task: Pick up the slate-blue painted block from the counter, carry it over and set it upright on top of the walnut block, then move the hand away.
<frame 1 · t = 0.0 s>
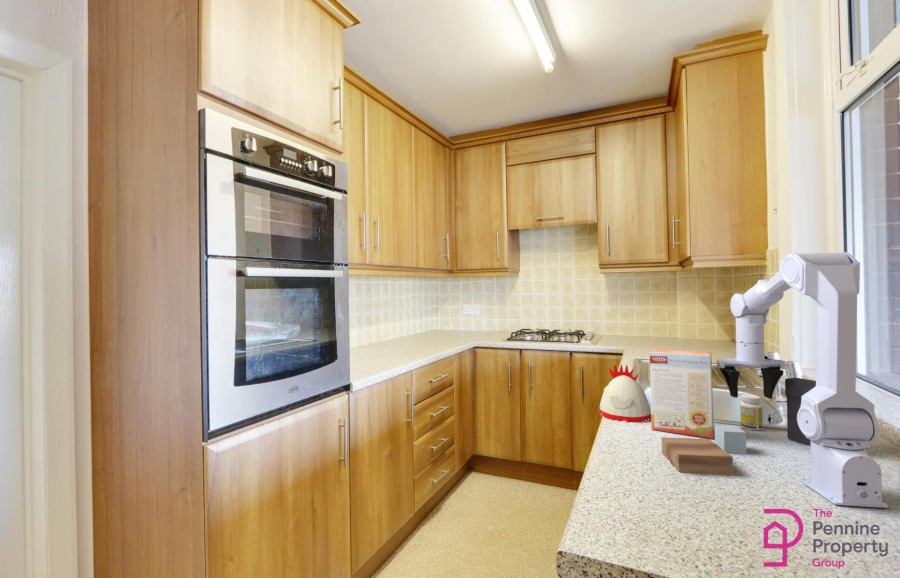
hand: (750, 397, 103), 10 cm above the countertop, tool pointing down, fingers open, 7 cm apart
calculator: (817, 447, 97), on the countertop
slate block: (730, 450, 96), on the countertop
kitchen timer: (624, 416, 123), on the countertop
walnut block: (695, 465, 88), on the countertop
cracker box: (681, 432, 108), on the countertop
supplement bottle: (751, 428, 110), on the countertop
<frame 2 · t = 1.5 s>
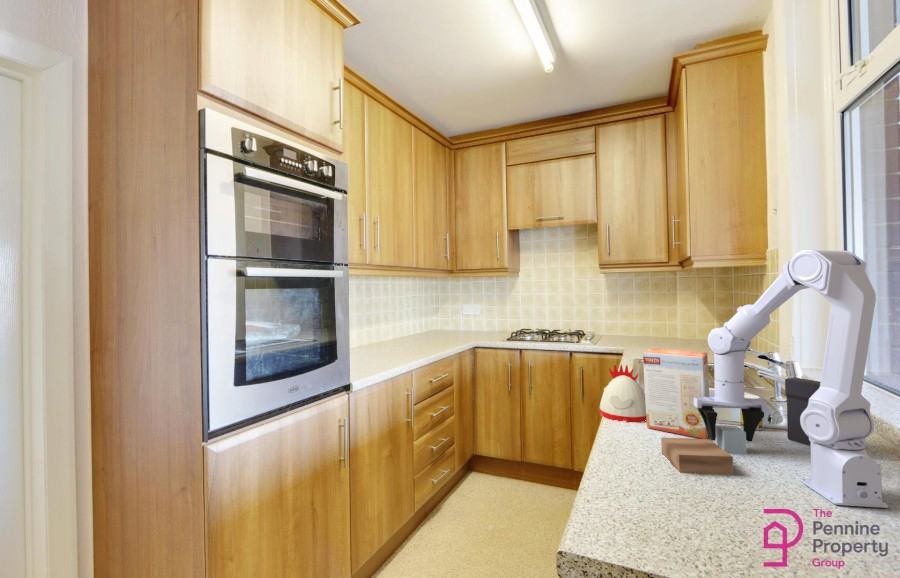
hand: (729, 439, 96), 2 cm above the countertop, tool pointing down, fingers open, 7 cm apart
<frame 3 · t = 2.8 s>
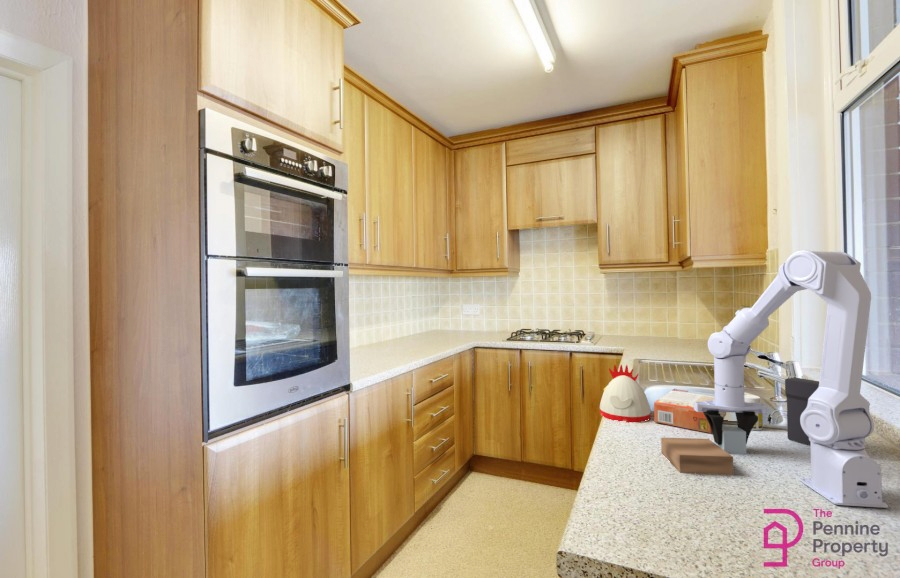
hand: (730, 443, 96), 1 cm above the countertop, tool pointing down, fingers closed on slate block, 4 cm apart
slate block: (730, 449, 96), on the countertop, touching gripper
cracker box: (680, 418, 110), point 3 cm above the countertop
everything else where it was.
when the fingers open (6 cm above the countertop, at t = 7.7 s): slate block drops 1 cm, point 4 cm above the countertop.
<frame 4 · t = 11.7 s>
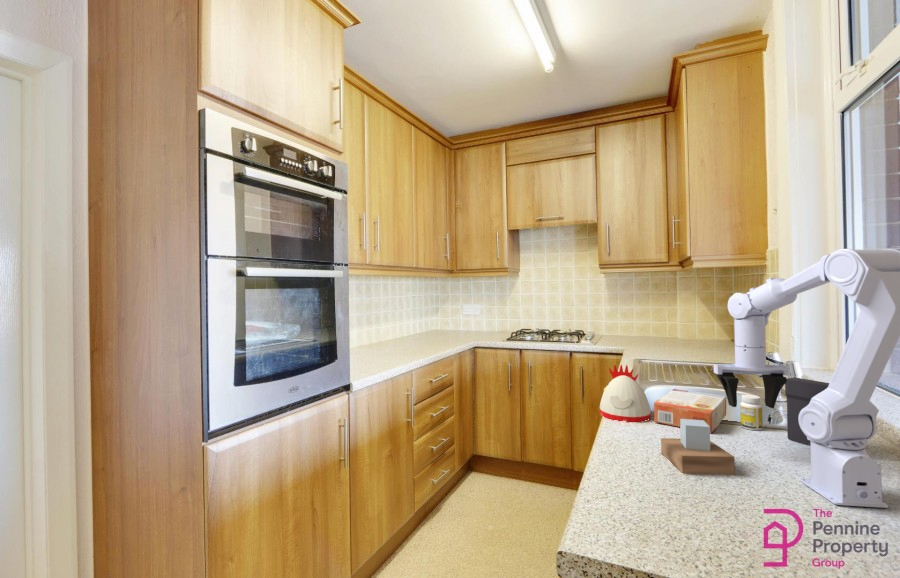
hand: (751, 406, 94), 10 cm above the countertop, tool pointing down, fingers open, 7 cm apart
slate block: (694, 446, 89), point 4 cm above the countertop
everything else where it was.
at the end: slate block 0.3 cm off-centre on the walnut block, point 4.0 cm above the walnut block's base; slate block tilted 0°; the gripper is holding nothing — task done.
